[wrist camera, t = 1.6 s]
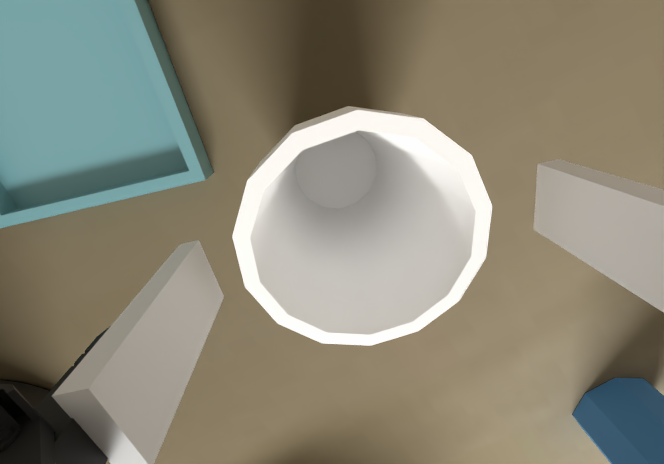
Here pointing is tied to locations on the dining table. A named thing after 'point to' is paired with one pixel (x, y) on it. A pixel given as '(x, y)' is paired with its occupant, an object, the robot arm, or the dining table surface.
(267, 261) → the foam cup
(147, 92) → the tray
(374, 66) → the dining table surface
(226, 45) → the dining table surface
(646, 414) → the water bottle
